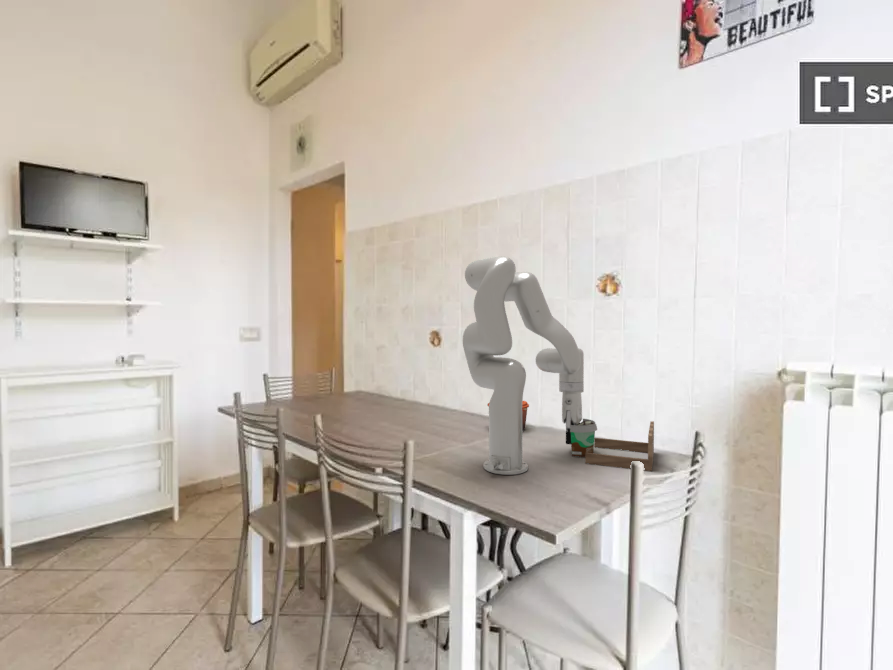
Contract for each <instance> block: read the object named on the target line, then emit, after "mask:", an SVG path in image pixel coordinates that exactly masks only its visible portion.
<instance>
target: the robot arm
mask: <svg viewBox="0 0 893 670" xmlns="http://www.w3.org/2000/svg"><path fill="white" fill-rule="evenodd" d="M516 269H517V268H516V264H515V262H514V260H513V259H512V258H510V257H508V256H494V257H493V256H492V257H490V258H489V257H488V258H485V259H484V258H483V259H478V260H474V261H472V262H470V263H469V264H468V265H467V266H466V268H465V271H464V280H465V282H466V284H467V285H468V286H469V287H470V289H473V290H474V291H476V292H475V295H474V299H473V311H474V312H473V313H474V318H475V321H474V322H471V323H469V324H468V325H467V326H466V328H465V329H464V331H463V334H462V347H463V351H464V354H465V358H466V363H467V366H468V371H469V374H470V376H471V379H472V380H473V382H474V383H475V385H477V386H478V387H480V388H484V389H488V390H493V391H492V392H493V393H492V394H491V398H490V400H489V402H490V403H489V402H488V403H489V406H488V459H487V460H485V461H484V462H483V469H484V470H485V471H487V472H489V473H492V474H495V475H505V476H508V475H510V476H511V475H520V474H524V473H525V472H527V470H529V464H528V463H527V462H526V461H524V460H523V431H522V401H524V400H523V399H524V390H525V385H526V381H527V380H526V379H527V372H526V368H525V367H524V365H523V364H522V362H520V361H518V360H516V359H513V358H509V357H501V356H503V355H507V354H508V353H509V352H511V350H512V347H513V338H512V333H511V328H510V323H509V321H508V315H507V311H506V307H505V305H506V304H505V302H514V303H515V305H516V308H517V310H518V312H519V314H520V318H521V320H522V322H523V324H524V327H525V328H526V329H528V330H529V331H530V332H532V333H534V334H535V335H538V336H540V337H542V338H543V339H545V340H547V341H548V342H549V343H550V344H551V345H552V346H553V348H550V347H547V348H543V349H542V350H540V351H538V353H537V354H536V356H535V364H536V366H537V368H538V369H539V370H541V371H542V372H546V373H550V374H559V375H558V383H559V384H558V386H559V387H558V389H559V392H560V393H562V394H561V395H562V397H561V398H562V399H561V420H562V423H563V424H565V444H566V445H570V446H571V432H570V427H571V425H577V424H579V423H581V422H582V421H583V403H582V402H583V401H582V400H583V399H582V393H584V384H585V382H584V377H585V376H584V375H585V374H584V366H585V365H584V359H585V356H584V355H585V354H584V351H583V349H581V348H579V347H578V345H577V342H576V340H575V338H574V336H573V335H572V333H571V332H570V331H569V330H568V329H567V328H566V327H565V326H564V325H563V324H562V323H561V322H560V321H558V320H557V319H556V318H555V317H554V316H553V314H552V312H551V310H550V308H549V305H548V303H547V300H546V298H545V295H544V293H543V290H542V287H541V284H540V282H539V280H538V278H537V277H536V275H535V274H534V273H532V272H528V271H519V272H516V271H517V270H516ZM498 356H499V357H498Z"/></svg>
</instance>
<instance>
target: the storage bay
mask: <svg viewBox="0 0 893 670" xmlns="http://www.w3.org/2000/svg"><path fill="white" fill-rule="evenodd" d="M647 436H648V437H647V442H642V441H634V440H633V441H632V440H624V439H622V440H620V439H613V438H603V437H602V438H601V437H594V448H596V447H598V449H605V448H609V449H608V450H615V449H622V450H621V451H624V450H629V451H628V452H634V451H635V453H644V454H647V458H639V457H629V456H622V455H621V456H620V455H612V454H605V453H604V454H603V453H595V452H593V453H587V452H586V453H585V457H584V458H585V459H584V460H585V463H584V464H587V463H589V465H595V464H596V465H597V466H605V467H611V468H620V467H622V468H621V469H628V468H629V469H630V465H631V462H632V461H640V462H642V463H643V464H644V468H645V471H644V472H652V471H653V466H654V465H653V462H654V454H655V453H654V450H655V421H653V420H651V421H650V423H649V428H648V433H647ZM629 469H628V470H629Z"/></svg>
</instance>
